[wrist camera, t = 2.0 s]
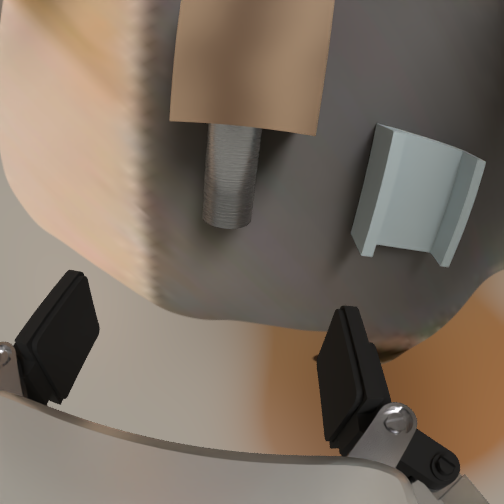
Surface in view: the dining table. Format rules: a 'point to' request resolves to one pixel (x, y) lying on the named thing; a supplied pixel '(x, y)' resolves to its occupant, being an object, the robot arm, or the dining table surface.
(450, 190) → the cradle
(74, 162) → the dining table surface
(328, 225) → the dining table surface
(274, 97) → the hollow wooden box
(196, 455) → the robot arm
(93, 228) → the dining table surface
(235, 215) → the axle
